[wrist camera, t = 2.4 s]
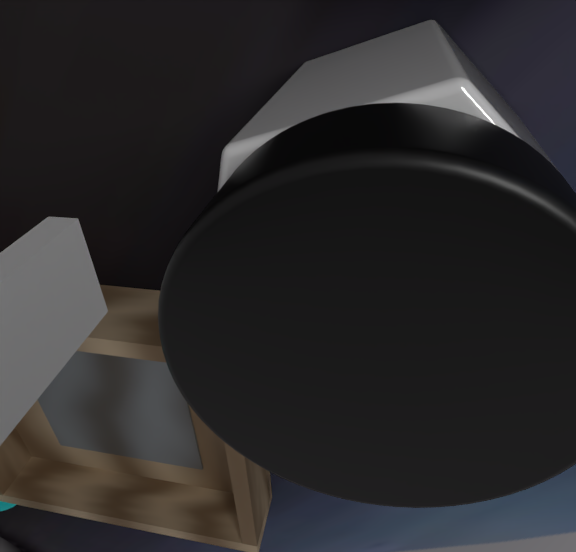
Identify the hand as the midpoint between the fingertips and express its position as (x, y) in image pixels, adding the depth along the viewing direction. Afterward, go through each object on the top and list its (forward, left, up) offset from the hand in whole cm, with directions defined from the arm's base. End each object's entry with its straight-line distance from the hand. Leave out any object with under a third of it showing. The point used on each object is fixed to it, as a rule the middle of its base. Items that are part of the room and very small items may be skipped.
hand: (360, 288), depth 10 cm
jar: (0, 0, -10) cm, 10 cm away
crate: (+16, +17, -9) cm, 25 cm away
